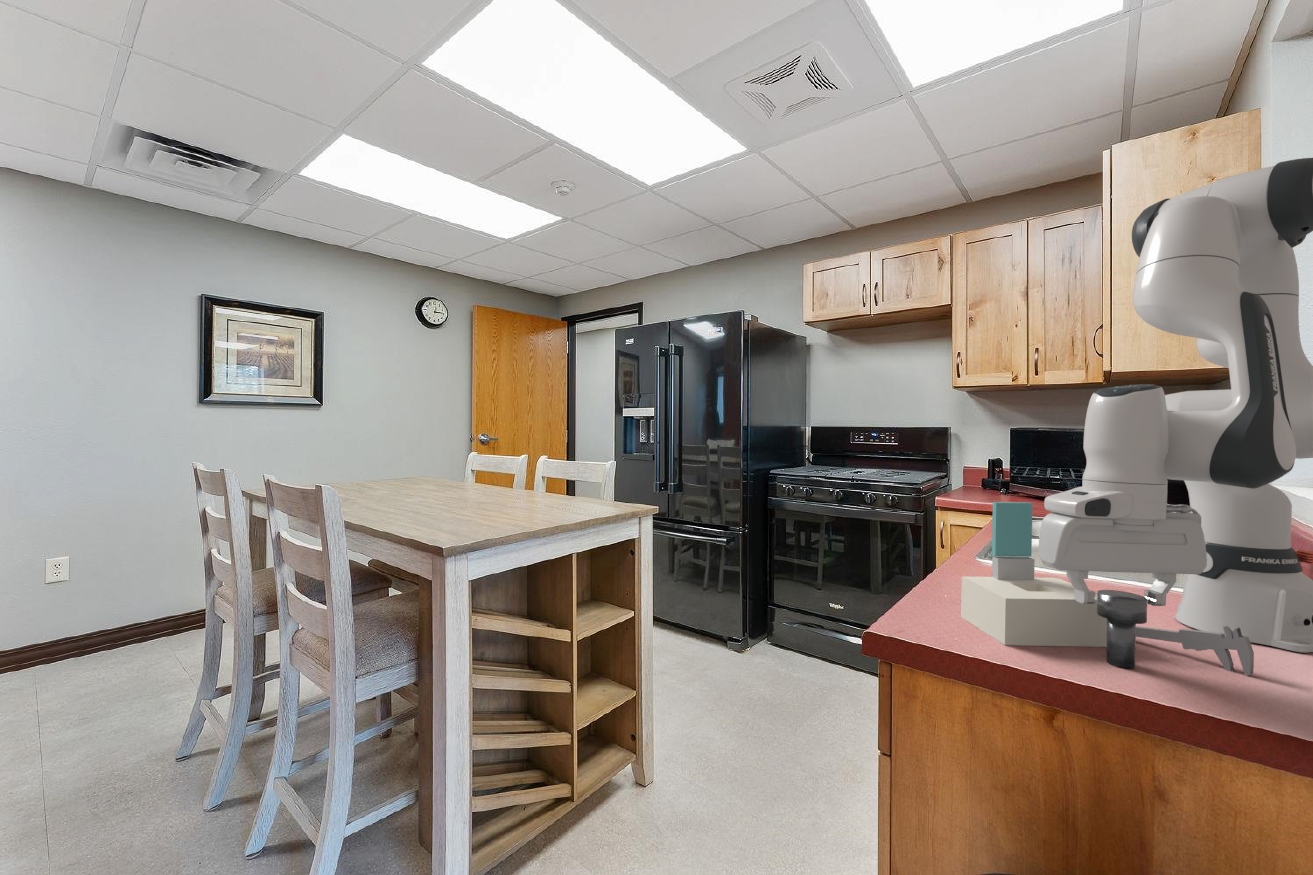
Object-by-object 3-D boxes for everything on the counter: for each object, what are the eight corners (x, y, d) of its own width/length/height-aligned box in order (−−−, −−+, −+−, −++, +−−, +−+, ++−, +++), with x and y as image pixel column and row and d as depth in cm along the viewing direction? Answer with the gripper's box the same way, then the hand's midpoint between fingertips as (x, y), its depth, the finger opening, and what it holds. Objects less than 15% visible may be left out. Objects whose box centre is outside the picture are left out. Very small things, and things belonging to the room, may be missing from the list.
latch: (1031, 556, 91) (1027, 555, 92) (1032, 503, 91) (1028, 502, 92) (995, 555, 92) (991, 554, 93) (996, 502, 91) (992, 501, 92)
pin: (1123, 656, 77) (1125, 589, 77) (1156, 672, 72) (1158, 601, 72) (1086, 655, 77) (1087, 589, 77) (1116, 672, 72) (1118, 601, 72)
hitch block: (1055, 618, 93) (1057, 557, 92) (1113, 646, 81) (1115, 576, 80) (961, 617, 93) (962, 555, 93) (1004, 645, 81) (1006, 574, 81)
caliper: (1253, 677, 71) (1255, 630, 71) (1249, 679, 71) (1251, 631, 71) (1078, 625, 90) (1079, 588, 90) (1075, 626, 89) (1075, 589, 89)
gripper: (1178, 501, 77) (1175, 599, 77) (1032, 498, 78) (1029, 594, 78) (1223, 508, 71) (1220, 613, 71) (1064, 503, 71) (1061, 608, 71)
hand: (1119, 603), depth 74 cm, fingers open, 8 cm apart
